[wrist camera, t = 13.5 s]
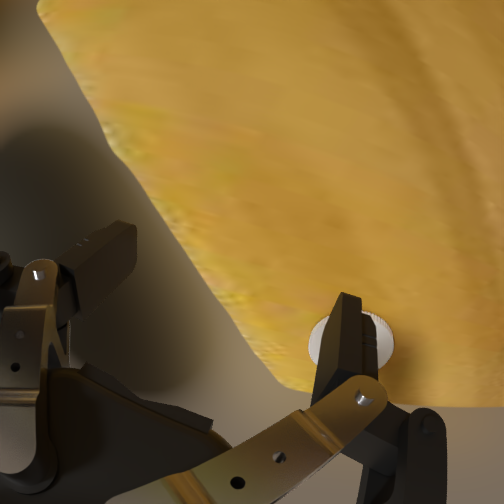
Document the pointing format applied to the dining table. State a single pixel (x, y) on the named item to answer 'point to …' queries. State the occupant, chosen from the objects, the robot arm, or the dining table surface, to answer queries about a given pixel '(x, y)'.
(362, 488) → the robot arm
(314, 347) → the plastic lid
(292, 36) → the dining table surface
